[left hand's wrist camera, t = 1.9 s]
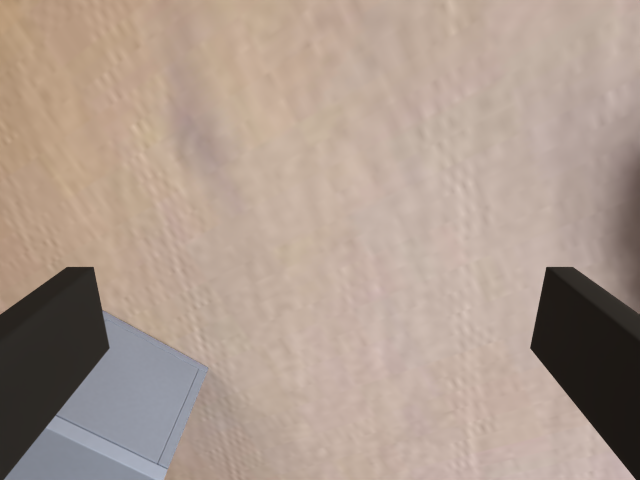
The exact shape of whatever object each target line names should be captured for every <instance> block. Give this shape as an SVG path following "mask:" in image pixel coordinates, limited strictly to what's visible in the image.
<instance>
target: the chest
mask: <svg viewBox="0 0 640 480" xmlns="http://www.w3.org/2000/svg"><path fill="white" fill-rule="evenodd" d="M102 312H103V317H104V322H105V327H106V332H107V337H108V342H109V347H110V348H109V350H108V351H107V352H106V353H105V355H104V356H103V357H102V358H101V360H100V361H99V362H98V363H97V365H96V366H95V367H94V368H93V370H92V371H91V372H90V373H89V375H88V376H87V377H86V378H85V380H84V381H83V382H82V383H81V385H80V386H79V387H78V388H77V389H76V391H75V392H74V393H73V394H72V396H71V397H70V398H69V399H68V401H67V402H66V403H65V404H64V406H63V407H62V408H61V409H60V411H59V412H58V413H57V414H56V416H57V417H59V418H61V419H63V420H66V421H68V422H70V423H72V424H74V425H76V426H78V427H80V428H82V429H84V430H86V431H88V432H90V433H93V434H95V435H97V436H99V437H101V438H103V439H105V440H107V441H109V442H111V443H113V444H115V445H118V446H120V447H122V448H124V449H126V450H128V451H130V452H132V453H134V454H136V455H138V456H140V457H142V458H145V459H147V460H149V461H151V462H153V463H155V464H157V465H159V466H161V467H163V468H165V469H168V468H169V465H170V463H171V460H172V458H173V455H174V453H175V450H176V448H177V445H178V443H179V440H180V438H181V435H182V433H183V430H184V428H185V425H186V423H187V420H188V418H189V415H190V413H191V410H192V408H193V405H194V403H195V400H196V398H197V395H198V393H199V390H200V388H201V385H202V383H203V380H204V378H205V375H206V373H207V370H208V367H206V366H204V365H202V364H201V363H199V362H197V361H195V360H193V359H191V358H190V357H188V356H186V355H184V354H182V353H180V352H178V351H177V350H175V349H173V348H171V347H169V346H167V345H166V344H164V343H162V342H160V341H158V340H156V339H155V338H153V337H151V336H149V335H147V334H145V333H144V332H142V331H140V330H138V329H136V328H134V327H132V326H131V325H129V324H127V323H125V322H123V321H121V320H120V319H118V318H116V317H114V316H112V315H110V314H109V313H107V312H105V311H102Z"/></svg>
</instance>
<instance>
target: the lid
mask: <svg viewBox="0 0 640 480" xmlns="http://www.w3.org/2000/svg"><path fill="white" fill-rule="evenodd" d="M166 472H167V469H165V468H163V467H161V466H159V465H157V464H155V463H153V462H151V461H149V460H147V459H145V458H142V457H140V456H138V455H136V454H134V453H132V452H130V451H128V450H126V449H124V448H122V447H120V446H118V445H115V444H113V443H111V442H109V441H107V440H105V439H103V438H101V437H99V436H97V435H95V434H93V433H90V432H88V431H86V430H84V429H82V428H80V427H78V426H76V425H74V424H72V423H70V422H68V421H66V420H63V419H61V418H59V417H57V416H55V417H54V418H53V419H52V421H51V422H50V423H49V424H48V426H47V427H46V428H45V429H44V431H43V432H42V433H41V434H40V436H39V437H38V438H37V439H36V440H35V442H34V443H33V444H32V445H31V447H30V448H29V449H28V450H27V452H26V453H25V454H24V455H23V457H22V458H21V459H20V460H19V462H18V463H17V464H16V465H15V467H14V468H13V469H12V470H11V472H10V473H9V474H8V475H7V477H6V478H5V479H4V480H164V477H165V475H166Z"/></svg>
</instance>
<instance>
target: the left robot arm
mask: <svg viewBox="0 0 640 480" xmlns="http://www.w3.org/2000/svg"><path fill="white" fill-rule="evenodd" d="M109 348H110V347H109V342H108V337H107V332H106V327H105V322H104V317H103V312H102V307H101V302H100V297H99V292H98V287H97V282H96V277H95V272H94V267H66V268H65V269H64V270H62V271H61V272H59V273H58V274H57V275H55V276H54V277H52V278H51V279H50V280H48V281H47V282H45V283H44V284H43V285H41V286H40V287H38V288H37V289H36V290H34V291H33V292H31V293H30V294H29V295H27V296H26V297H24V298H23V299H22V300H20V301H19V302H17V303H16V304H15V305H13V306H12V307H10V308H9V309H8V310H6V311H5V312H3V313H2V314H1V315H0V480H4V479H5V478H6V477H7V475H8V474H9V473H10V472H11V470H12V469H13V468H14V467H15V465H16V464H17V463H18V462H19V460H20V459H21V458H22V457H23V455H24V454H25V453H26V452H27V450H28V449H29V448H30V447H31V445H32V444H33V443H34V442H35V440H36V439H37V438H38V437H39V436H40V434H41V433H42V432H43V431H44V429H45V428H46V427H47V426H48V424H49V423H50V422H51V421H52V419H53V418H54V417H55V416H56V414H57V413H58V412H59V411H60V409H61V408H62V407H63V406H64V404H65V403H66V402H67V401H68V399H69V398H70V397H71V396H72V394H73V393H74V392H75V391H76V389H77V388H78V387H79V386H80V385H81V383H82V382H83V381H84V380H85V378H86V377H87V376H88V375H89V373H90V372H91V371H92V370H93V368H94V367H95V366H96V365H97V363H98V362H99V361H100V360H101V358H102V357H103V356H104V355H105V353H106V352H107V351H108V350H109ZM530 348H531V350H532V351H533V352H534V353H535V355H536V356H537V357H538V358H539V360H540V361H541V362H542V363H543V365H544V366H545V367H546V368H547V370H548V371H549V372H550V373H551V375H552V376H553V377H554V378H555V380H556V381H557V382H558V383H559V385H560V386H561V387H562V388H563V390H564V391H565V392H566V393H567V394H568V396H569V397H570V398H571V399H572V401H573V402H574V403H575V404H576V406H577V407H578V408H579V409H580V411H581V412H582V413H583V414H584V416H585V417H586V418H587V419H588V421H589V422H590V423H591V424H592V426H593V427H594V428H595V429H596V431H597V432H598V433H599V434H600V436H601V437H602V438H603V439H604V440H605V442H606V443H607V444H608V445H609V447H610V448H611V449H612V450H613V452H614V453H615V454H616V455H617V457H618V458H619V459H620V460H621V462H622V463H623V464H624V465H625V467H626V468H627V469H628V470H629V472H630V473H631V474H632V475H633V477H634V478H635V479H636V480H640V315H639V314H638V313H637V312H635V311H634V310H632V309H631V308H630V307H628V306H627V305H625V304H624V303H623V302H621V301H620V300H618V299H617V298H616V297H614V296H613V295H611V294H610V293H609V292H607V291H606V290H604V289H603V288H602V287H600V286H599V285H597V284H596V283H595V282H593V281H592V280H590V279H589V278H588V277H586V276H585V275H583V274H582V273H581V272H579V271H578V270H576V269H575V268H574V267H546V272H545V277H544V282H543V287H542V292H541V297H540V302H539V307H538V312H537V317H536V322H535V327H534V332H533V337H532V342H531V347H530Z"/></svg>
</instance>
